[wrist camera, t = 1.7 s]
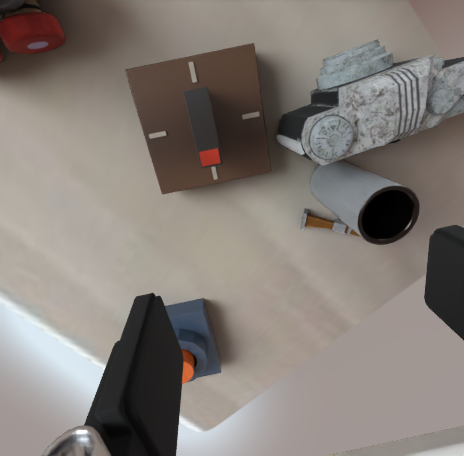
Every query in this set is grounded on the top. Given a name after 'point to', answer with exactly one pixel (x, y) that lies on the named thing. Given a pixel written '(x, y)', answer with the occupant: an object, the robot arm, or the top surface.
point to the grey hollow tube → (366, 201)
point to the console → (224, 110)
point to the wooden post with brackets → (326, 224)
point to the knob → (203, 127)
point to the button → (187, 366)
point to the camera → (372, 103)
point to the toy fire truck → (28, 28)
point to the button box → (195, 335)
